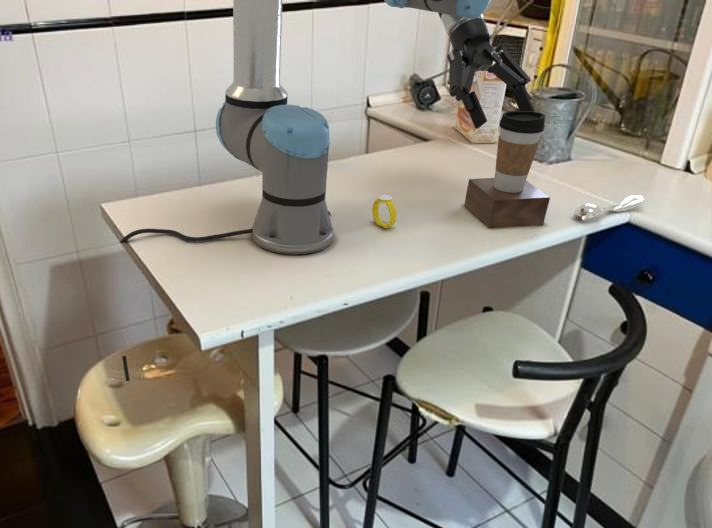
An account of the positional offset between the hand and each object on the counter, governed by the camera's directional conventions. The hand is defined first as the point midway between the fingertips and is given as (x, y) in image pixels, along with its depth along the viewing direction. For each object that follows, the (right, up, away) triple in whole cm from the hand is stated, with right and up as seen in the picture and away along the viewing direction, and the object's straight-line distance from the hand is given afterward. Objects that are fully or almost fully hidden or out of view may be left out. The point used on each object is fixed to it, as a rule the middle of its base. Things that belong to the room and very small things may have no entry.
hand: (506, 121), depth 130 cm
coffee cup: (+2, -13, +4) cm, 13 cm away
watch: (-25, -21, +1) cm, 32 cm away
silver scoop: (+25, -17, +10) cm, 32 cm away
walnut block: (+2, -18, +7) cm, 19 cm away
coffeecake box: (+9, +12, +56) cm, 59 cm away
